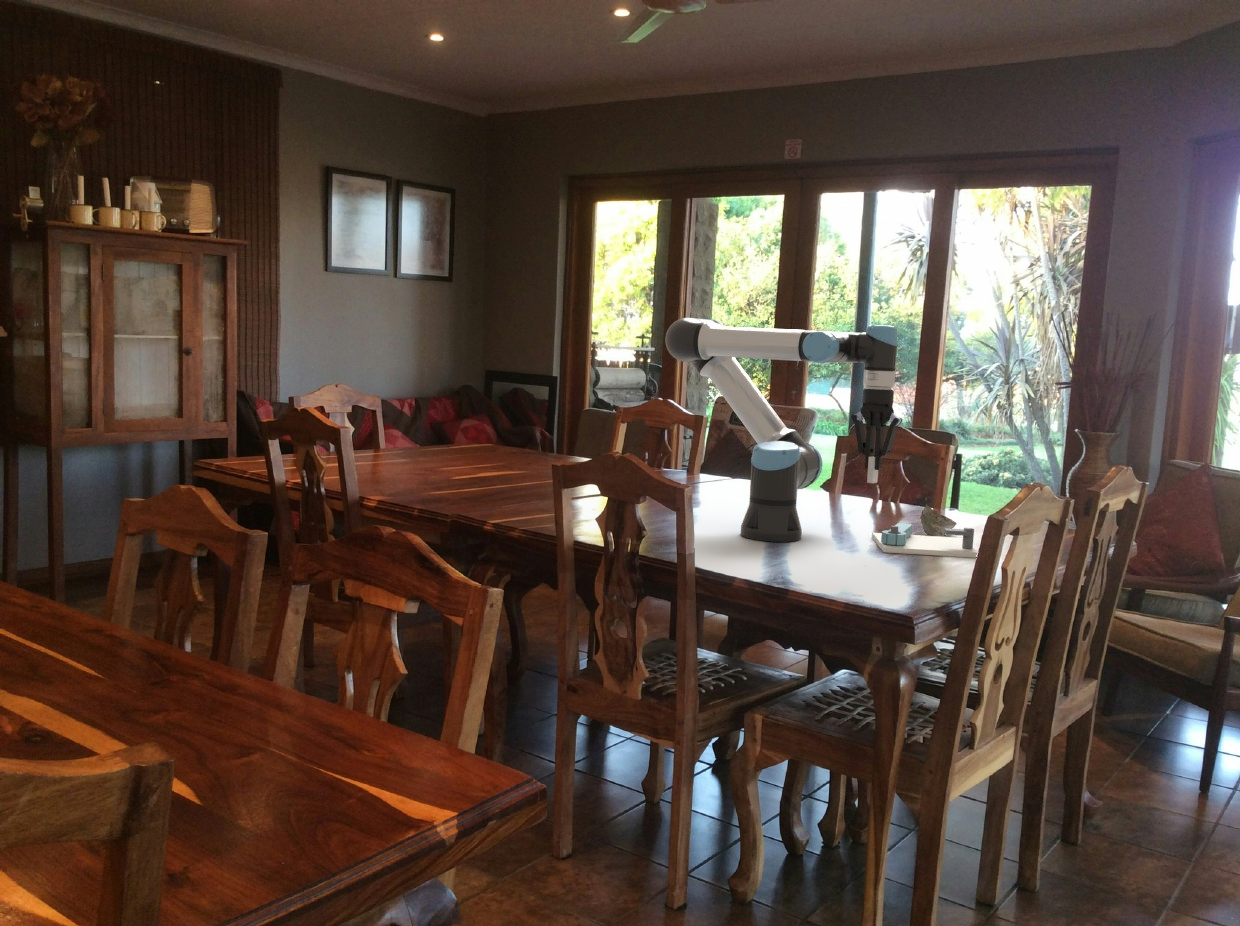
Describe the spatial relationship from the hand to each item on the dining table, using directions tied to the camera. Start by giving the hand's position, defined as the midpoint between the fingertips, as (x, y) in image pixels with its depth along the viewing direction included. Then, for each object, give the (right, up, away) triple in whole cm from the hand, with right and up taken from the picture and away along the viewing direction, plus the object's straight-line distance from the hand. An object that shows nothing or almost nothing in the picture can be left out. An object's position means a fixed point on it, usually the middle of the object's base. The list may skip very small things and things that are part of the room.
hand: (872, 482), depth 267 cm
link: (+6, -14, -3) cm, 15 cm away
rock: (+20, -14, +12) cm, 27 cm away
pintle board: (+11, -16, -5) cm, 20 cm away
